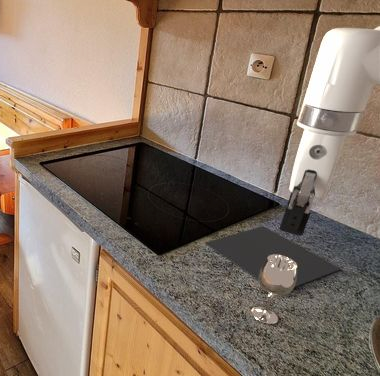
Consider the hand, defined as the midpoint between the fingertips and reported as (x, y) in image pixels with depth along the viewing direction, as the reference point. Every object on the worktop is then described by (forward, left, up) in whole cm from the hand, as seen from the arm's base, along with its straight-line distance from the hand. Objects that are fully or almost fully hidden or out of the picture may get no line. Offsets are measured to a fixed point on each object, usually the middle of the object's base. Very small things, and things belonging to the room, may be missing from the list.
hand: (294, 220), depth 67 cm
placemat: (+13, -18, -20) cm, 30 cm away
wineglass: (0, 0, -21) cm, 21 cm away
